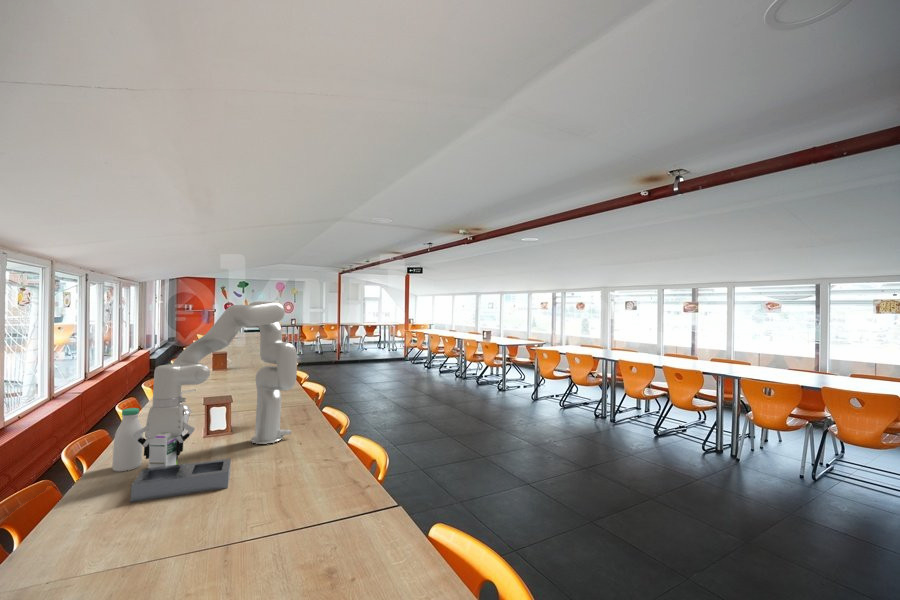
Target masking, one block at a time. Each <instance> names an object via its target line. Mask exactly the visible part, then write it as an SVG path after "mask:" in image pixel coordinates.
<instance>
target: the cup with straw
mask: <svg viewBox="0 0 900 600" xmlns="http://www.w3.org/2000/svg"><path fill="white" fill-rule="evenodd" d="M195 391H196V389H195V388H194V389H189V390H183V391H181V397H182V398H183V394H184V393H191V392H195ZM180 404H182V405H183V407H184V423H186V424H188V425H189V423H188V422H189V419H190V416H191V414H192V413H193V410H192V409H191V408H190V406H189V405H188V404H186V403H183V402H182V403H180ZM186 433H187V430H186V429H185V428H184V431H183V432H182V435H183V436H184V435H185V434H186Z"/></svg>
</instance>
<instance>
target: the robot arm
mask: <svg viewBox="0 0 900 600" xmlns="http://www.w3.org/2000/svg"><path fill="white" fill-rule="evenodd" d="M285 314H286V310H285V308H284V305H283V304H281V303H280V302H277V301H260V300H258V301H252V302H250V303H248V304H233V305H231V306H228V307H227V308H226V310H224V312H223V313H222V314H221V315H220V317H219V318H218V319H217V321H216V322H215V323H214V324H213V325H212V326H211V328H210V329H208V331H207V333H205V334H204V335H203V336H201V337H200V338H198V339H197V340H194V341H193V342H192V343H191V344H189V345H188V346H186V347H185V348H184V349H183V350H182V351H181V352H180V354H178V356H177V358H175V360H174V361H173V362H172V363H171V364H163V365H158V366H157V367H155V369H154V373H153V388H152V389H153V391H152V405H151V406H150V407H149V410H148V414H147V417H146V424H145V426H144V427H142V429H141V430H139V431H138V432H136V433H135V434H134V435H133V436H134V437H135V438H136V440H138V442H139V443H141V444H142V445H143V447H144V448H143V447H142V448H143V457H145V460H149V443H150V441H151V439H153V438H155V437H156V435H158V434H160V433H170V434H171V437H176V439H177V440H178V444H177V456H178V457H179V456H180V454H181V453H182V452H183V450H184V442H185V441H186V440H187V439H188V438H189V437H190V436H191V435H192V434H193V433H194V432H195V427H193V426H191V425H190V424H189V423H188V424H186V423H184V407H183V405H182V404H183V403H186V399H187V398H186V397H183V396H182V397H181V392H182V386H186V385H187V386H194V385H200V384H203V383H205V382H206V381H207V380H208V379H209V378H210V375H211V370H210V368H209V367H208V366H207V365H206V364H204V363H200V362H201V361H202V359H204V358H206V357H207V356H208V355H210V354H212V353H215V352H218V351H221V350H223V349H225V348H227V347H228V346H230V344H231V343H232V342H233V340H234V339H235V337H236V336H237V335H238V333H239V332H240V331H241V330H242V328H243V327H245V328H254V327H255V328H256V327H258V329H259V334H260V337H259V338H260V343H259V344H260V345H259V357H260V359H261V361H262V362H264V363H267V364H272V365H265V366H262V367H261V368H259V369H258V371H257V373H256V375H255V386H256V395H257V397H256V410H255V413H256V415H255V429H254V430H255V432H254V433H255V434H254V436H252V437H251V438H250V443H251V442H252V443H251V444H253V443H256V444H255V445H257V444H267V443H273V442H276V441H279V440H281V439H282V438H283V439H284V436H285V435H287V436H289V435H292V429H287V428H285V429H282V428H281V415H282V414H281V413H282V411H281V410H282V393H281V391H290V390H291V389H293V387H294V386H295V385H296V382H297V373H298V353H297V349H296V346H294V344H292V343H290V342H288V341H287V342H286V341H283V329H282V326H281V323H280V322H281V321H282V320H283V318H284V317H285ZM273 364H274V365H275V366H274V365H273ZM180 403H182V404H180ZM184 428H185V429H186V433H185V435H184V436H183V435H182V432H183V431H184ZM142 433H143V434H144V433H145V434H144V436H145V437H144V436H143V437H142V436H141V434H142ZM281 441H282V440H281ZM273 444H274V443H273ZM267 445H268V444H267Z"/></svg>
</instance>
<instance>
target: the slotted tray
mask: <svg viewBox="0 0 900 600" xmlns="http://www.w3.org/2000/svg"><path fill="white" fill-rule="evenodd" d="M231 465H232V458H225V459H224V458H223V459H214V460H207V461H206V460H205V461H199V462H190V463H188V462H187V463H181V464H178V465H172V466H163V467H155V468H148V467H146V468H143V469H142V470H140V472H139V473H138V475H137V476H136V478H135V479H134V480H133V482H132V484H131V488H130V490H131V491H130V504H131V503H135V502H143V501H149V500H155V499H156V500H157V499H164V498H170V497H176V496H184V495H191V494H196V492H198V493H202V492H204V491H205V492H211V491H218V490H224V489H223V488H225V489H229V482H230V476H231ZM217 489H218V490H217ZM205 492H204V493H205Z"/></svg>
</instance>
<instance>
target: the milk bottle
mask: <svg viewBox="0 0 900 600" xmlns="http://www.w3.org/2000/svg"><path fill="white" fill-rule="evenodd" d="M139 415H140V408H137V407H129V408H124V409H122V411H121V418H122V419H121V422H120V424H119V426H118V428H117V429H116V431H115V433H114V434H115V435H114V440H113V450H112V451H113V452H112V454H113V455H112V467H111V469H112V471H114V472H127V470H128V471H132V470H136V469H137V468H139V467H141V465H142V458H143V445H142V444H141V443H139V442H138V440H136V438H135V437H134V436H133V435H134V434H135V433H136V432H138V431H139V430H141V429H142V428H143V426H142V424H141V422H140V419H139ZM141 436H142V437H143V438H144V432H143V433H142V434H141Z"/></svg>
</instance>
